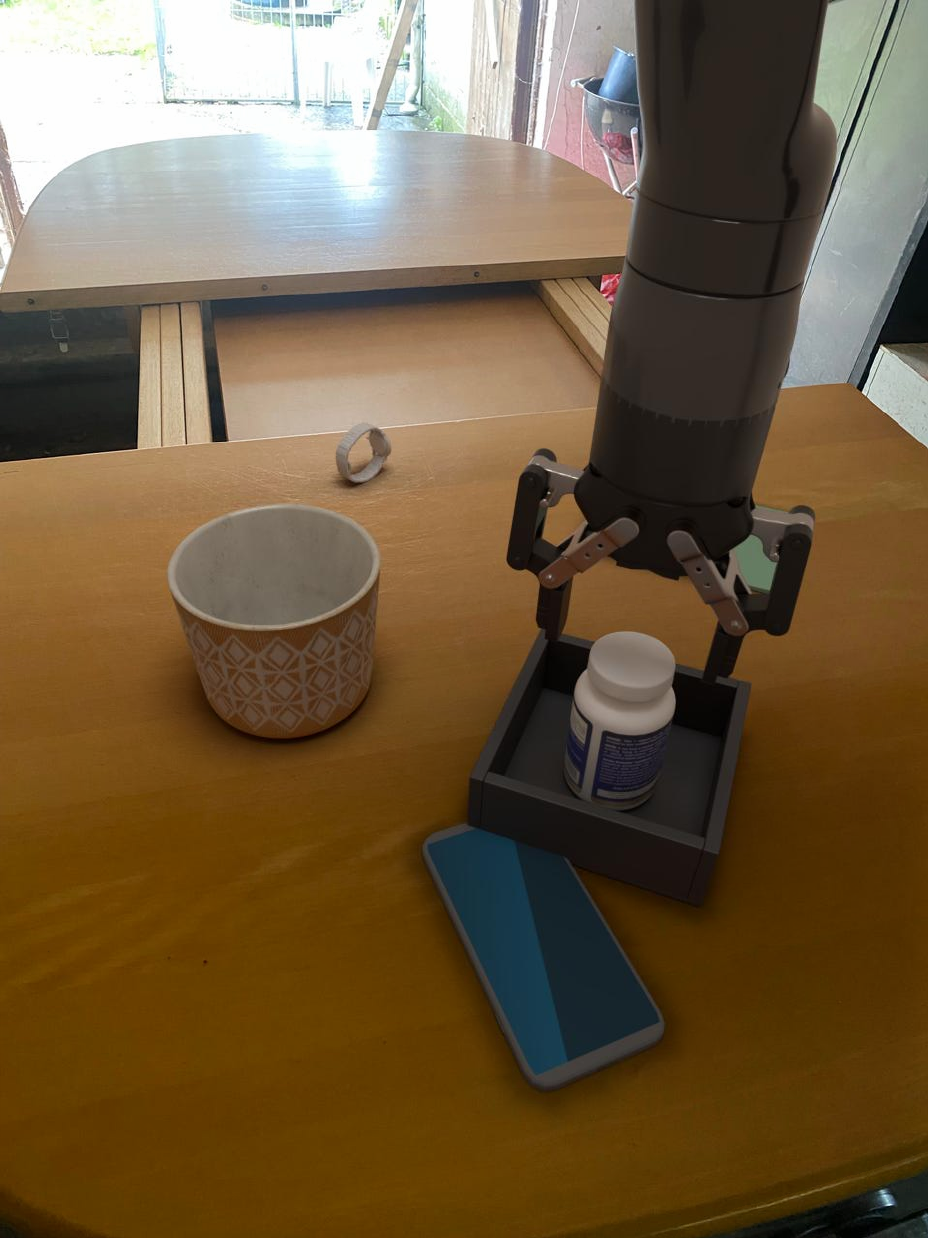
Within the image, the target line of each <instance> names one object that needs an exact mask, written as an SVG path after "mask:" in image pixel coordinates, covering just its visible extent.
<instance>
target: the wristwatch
mask: <svg viewBox="0 0 928 1238" xmlns="http://www.w3.org/2000/svg"><path fill="white" fill-rule="evenodd" d="M368 432H369V433H368ZM367 433H368V436H366V437H365V439H366V440H368V443H369V445H370V448H371V450H372V452H371V455H372V457H371V459H370V461H369V462H368V464H367V465H366V467H365V468H364V469H363V470H361V471H360V472H357V473H355V474H351V473H350V471H352V464H351V462H350V461H349V454H350V451H351V450H352V449H353V446H355V444H356V443H357V442H358V441H359V440H360V438H361V437H362V436H364V435H365V434H367ZM391 453H392V443H391V441H390V439H389V437H388V436H387V434H386V433H385V432H384V431H383V430H381V429H380V428H379V427H377V426H375V425H372V424H371V423H368V422H360V423H358V424H356V425H354V426H352V427H351V428H349V429H348V431H347V432H346V433H345V435H344V436H343V437H342V438H341V439H340V441H339V442H338V444H337V446H336V449H335V463H336V468H337V472H338V473H339V475H340V476H341V477H343V478H346V479H347V480H349V481H351V482H354V483H364V482H369V481H370V480H372V479H374V478H375V477H376V476H377V475H378V474H379V472H380V470H381V469H382V467H383V466H384V463H385V462H386V461H387V460H388V457H389V456H390V455H391Z"/></svg>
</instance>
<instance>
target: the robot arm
mask: <svg viewBox="0 0 928 1238" xmlns="http://www.w3.org/2000/svg"><path fill="white" fill-rule="evenodd" d="M841 2H844V0H632V16H633V19H632V20H633V34H634V52H635V67H636V68H635V70H636V72H635V73H636V88H637V98H638V105H639V113H640V119H641V120H640V121H641V131H642V151H641V157H640V162H639V167H638V171H637V177H636V183H635V192H634V199H633V205H632V211H631V218H630V225H629V230H628V239H627V245H626V250H625V257H624V261H623V267H622V270H621V274H620V278H619V281H618V285H617V288H616V290H615V291H616V292H615V294H614V298H613V302H612V305H611V310H610V315H609V321H608V328H607V334H606V342H605V349H604V354H603V355H604V356H603V363H602V368H601V376H600V383H599V389H598V398H597V405H596V411H595V417H594V426H593V431H592V437H591V445H590V451H589V457H588V458H589V459H588V463H587V464H586V466H585V467H584V468H583V469H582V468H578V467H574V466H571V465H567V464H563V463H560V462H558V461H557V455H556V454H555V453H554V451H553V450H551V449H549V448H545V447H543V448H538V449H537V450H535V452H534V453H533V455H532V456H531V458H530V460H529V461H528V463H527V464H526V466H525V467H524V469H523V471H522V472H521V474H520V475H519V478H518V482H517V483H518V484H517V488H516V495H515V501H514V508H513V513H512V520H511V526H510V533H509V538H508V544H507V552H506V558H505V559H506V563H507V565H508V566H509V567H510V568H511V569H513V570H515V571H519V572H520V571H525V570H526V571H528V572H530V573H531V574H533V575H534V576H535V577H536V578H537V580H538V583H539V586H538V596H537V603H536V604H537V606H536V613H535V622H536V625H537V628H538V629H540V630H541V629H545V639H546V640H550V641H554V642H558V640H559V638H560V636H561V633H563V631H564V629H565V627H566V624H567V620H568V617H569V616H568V615H569V609H570V602H571V595H572V589H573V581H574V576H576V575H577V574H579V573H580V574H583V573H586V572H587V571H588V570H590V569H591V568H592V567H594V566H595V565H597V564H598V563H599V562H601V561H602V560H603V559H605V558H607V556H608V557H610V558H611V559H612V560H613V561H615V566H616V567H619V568H623V569H624V568H625V569H628V570H638V571H639V570H642V571H643V570H644V571H649V572H650V573H654V574H655V575H657V576H659V577H662V578H664V579H669V580H673V581H677V582H678V581H679V579H680V577H688V578H689V579H690V581H691V583H692V585H693V587H694V588H695V591H696V592H697V593H698V595H699V597H700V599H701V601H702V602H703V603H704V605H709V606H710V608H711V610H712V612H713V613H714V614H715V616H716V618H717V623H716V626H715V629H714V633H713V636H712V639H711V643H710V647H709V651H708V654H707V657H706V658H707V659H706V662H705V665H704V669H703V671H704V673H703V677H702V681H701V682H704V683H707V684H711V685H715V682H716V679H717V676H719V677H723V678H726V679H727V678H728V677H730V676H731V675H732V674H733V673H734V670H735V667H736V664H737V660H738V658H739V656H740V655H739V654H740V651H741V649H742V646H743V641H744V638H745V636H746V635H748V634H749V633H751V632H754V631H764V632H766V633H767V634H768V635H770V636H774V637H782V636H785V635H786V634H787V633H788V632H789V631H790V629H791V625H792V620H793V617H794V613H795V609H796V605H797V603H798V602H797V601H798V598H799V594H800V590H801V586H802V583H803V579H804V576H805V571H806V568H807V564H808V560H809V557H810V553H811V549H812V545H813V537H814V531H815V524H816V512H815V511H814V509H813V508H812V507H810V506H809V505H804V504H799V505H796V506H793V507H792V508H790V510H789V511H788V512H789V513H783V512H777V511H771V510H765V509H759V508H756V506H755V505H756V503H755V501H754V496H753V488H754V485H755V482H756V478H757V474H758V472H759V468H760V464H761V460H762V457H763V453H764V451H765V447H766V444H767V440H768V436H769V432H770V428H771V426H772V422H773V418H774V415H775V411H776V406H777V403H778V401H779V396H780V393H781V391H782V386H783V383H784V380H785V379H786V377H787V375H788V372H789V368H790V362H791V354H792V351H793V348H794V344H795V339H796V335H797V331H798V325H799V324H798V323H799V316H800V315H799V314H800V307H801V301H802V293H803V289H804V285H805V278H806V276H807V272H808V268H809V265H810V262H811V258H812V256H813V251H814V248H815V244H816V241H817V236H818V232H819V229H820V226H821V222H822V218H823V216H824V212H825V208H826V204H827V201H828V197H829V193H830V190H831V187H832V182H833V177H834V172H835V167H836V162H837V161H836V160H837V151H838V133H837V128H836V125H835V123H834V121H833V119H832V117H831V116H830V114H829V113H828V112H827V111H825V110H824V108H823V107H822V106H820V105H819V104H817V103H815V102H814V100H815V93H816V86H817V78H818V71H819V64H820V56H821V49H822V43H823V42H822V41H823V35H824V29H825V23H826V18H827V12H828V8H829V6H830V5H834V4H838V3H841ZM565 495H573V498H574V501H575V504H576V505H577V507H578V509H579V511H580V512H581V514H582V515H583V517H584V520H583V521H582V522H581V523H580V524H579V525H578V526H577V527H576V529H575V530H574V531H572V532H571V533H570V534H568V535H567V536H566V537H565V538H563V539H561V541H559V542H558V543H557V544H552V543H551V542H549V541H548V540H546V539H544V538H543V536H544V531H545V527H546V521H547V515H548V509H549V508H554V507H556V506H557V505H559V503H560V501H561V499H562V498H563V497H564V496H565ZM750 535H754V536H756V537H758V538H759V539H760V540H761V542H762V544H763V553H764V555H765V556H766V557H767V558H769V560H770V561H771V562H777V563H776V567H775V571H774V576H773V580H772V584H771V588H770V592H769V593H753V592H752V590H750V588H749V586H748V584H747V582H746V581H745V579H744V577H743V575H742V573H741V571H740V569H739V563H738V559H737V556H736V554H735V552H734V550H733V548H735V547H736V546H738V545H739V544H741V543H742V542H744V541H745V540H746V539H747V538H748V537H749V536H750Z"/></svg>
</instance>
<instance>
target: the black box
mask: <svg viewBox="0 0 928 1238" xmlns="http://www.w3.org/2000/svg"><path fill="white" fill-rule="evenodd" d="M595 642H596V641H593V640H589V639H585V638H582V637H578V636H574V635H570V634H566V633H563V632H562V633H561V636H560V638H559V640H558V642H554V641H550V640H546V639H545V629H541V628H540V631H539V632H538V634H537V636H536V638H535V639H534V642H533V644H532V646H531V648H530V650H529V652H528V655H527V657H526V659H525V661H524V663H523V665H522V667H521V668H520V671H519V673H518V675H517V678H516V680H515V682H514V684H513V686H512V688H511V690H510V692H509V694H508V696H507V698H506V700H505V701H504V704H503V706H502V708H501V711H500V712H499V714H498V717H497V719H496V721H495V723H494V726H493V727H492V729H491V732H490V734H489V735H488V738H487V739H486V742H485V744H484V745H483V748H482V749H481V752H480V753H479V756H478V758H477V761H476V763H475V765H474V767H473V769H472V770H471V773H470V775H469V780H468V800H467V815H466V816H467V818H466V823H467V825H468V826H471V827H474V828H477V829H481V830H484V831H487V832H490V833H493V834H496V835H499V836H502V837H505V838H508V839H511V840H514V841H517V842H520V843H523V844H526V845H529V846H532V847H535V848H538V849H541V850H545V851H548V852H551V853H554V854H557V855H560V856H563V857H565V858H567V859H568V860H569V861H570V863H571V864H572V866H573V867H576V868H579V869H583V870H586V871H589V872H591V873H595V874H598V875H601V876H604V877H607V878H610V879H613V880H616V881H619V882H622V883H625V884H629V885H631V886H634V887H637V888H641V889H643V890H647V891H650V892H653V893H656V894H659V895H662V896H665V897H667V898H671V899H673V900H677V901H680V902H683V903H686V904H689V905H692V906H695V907H698V908H701V907H702V904H703V901H704V898H705V896H706V893H707V889H708V887H709V884H710V881H711V878H712V875H713V872H714V869H715V867H716V863H717V861H718V859H719V856H720V852H721V851H720V850H721V847H722V846H721V845H722V840H723V837H724V836H723V835H724V830H725V825H726V820H727V814H728V810H729V809H728V808H729V805H730V804H729V803H730V798H731V793H732V790H733V782H734V779H735V773H736V767H737V762H738V758H739V752H740V748H741V742H742V736H743V732H744V731H743V730H744V726H745V720H746V717H747V716H746V715H747V711H748V705H749V700H750V695H751V690H752V684H753V683H752V682H749V681H744V680H741V679H737V678H734V677H730V676H729V677H728V678H727V679H726V678H723V677H719V676H717V679H716V682H715V685H711V684H707V683H704V682H701V681H702V677H703V673H704V669H700V668H695V667H692V666H688V665H684V664H680V663H676V662H675V672H674V677H673V682H672V685H671V686H672V689H673V691H674V694H675V711H674V716H673V720H672V723H671V728H670V732H669V736H668V740H667V744H666V748H665V752H664V756H663V760H662V765H661V769H660V773H659V777H658V781H657V784H656V787H655V790H654V792H653V793H652V795H651V796H650V797H649V798H648V799H647V800H646V801H645V802H644V803H642V804H641V805H639V806H637V807H635V808H631V809H628V810H621V811H615V810H612V809H608V808H605V807H602V806H599V805H595V804H592V803H589V802H586V801H583V800H581V799H580V798H579V797H578V796H577V795H576V794H575V793H574V792H573V791H572V790H571V788H570V787H569V785H568V783H567V781H566V778H565V775H564V760H565V753H566V746H567V739H568V732H569V725H570V718H571V711H572V704H573V697H574V691H575V687H576V684H577V681H578V679H579V677H580V676H581V674H582V673H583V672H584V671H585V670H586V669H587V666H588V660H589V655H590V651H591V648H592V646H593V645H594V643H595Z"/></svg>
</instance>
